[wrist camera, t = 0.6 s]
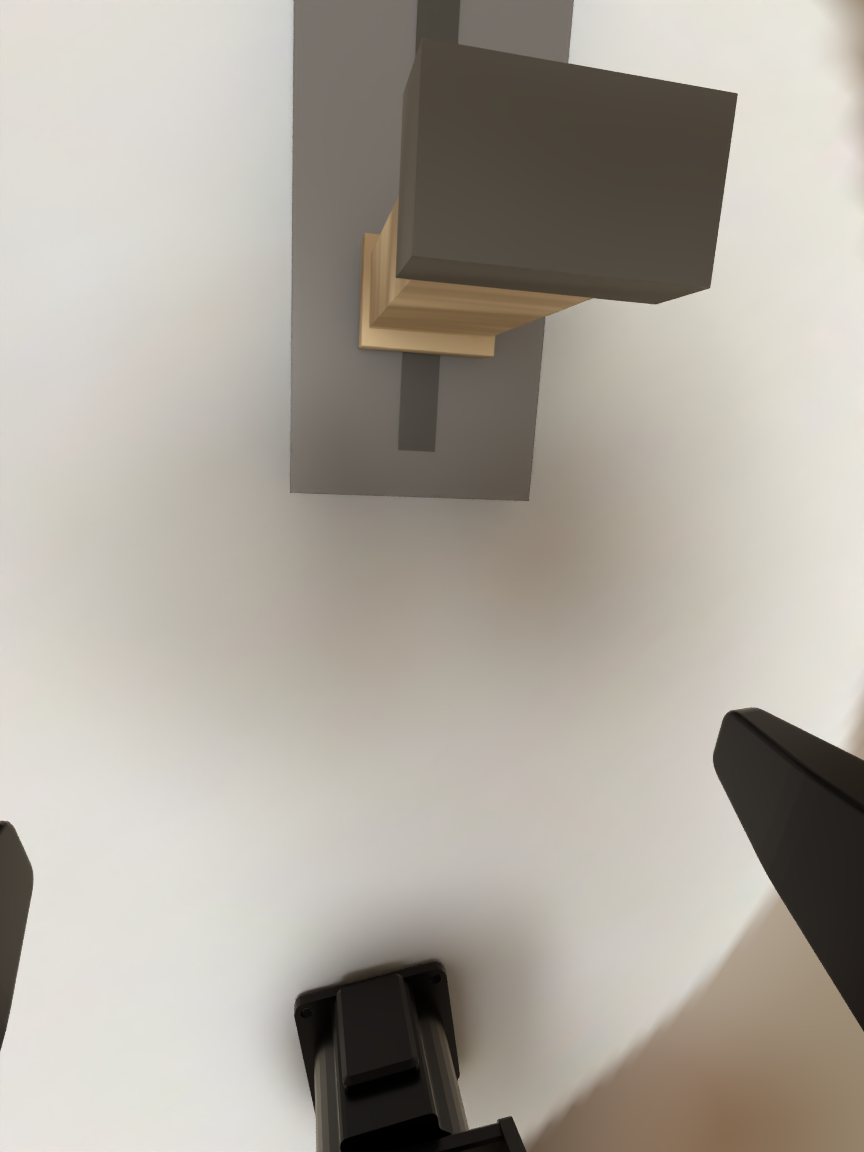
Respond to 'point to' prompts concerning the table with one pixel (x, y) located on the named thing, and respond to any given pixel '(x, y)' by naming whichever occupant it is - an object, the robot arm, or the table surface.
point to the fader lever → (539, 197)
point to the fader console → (333, 265)
